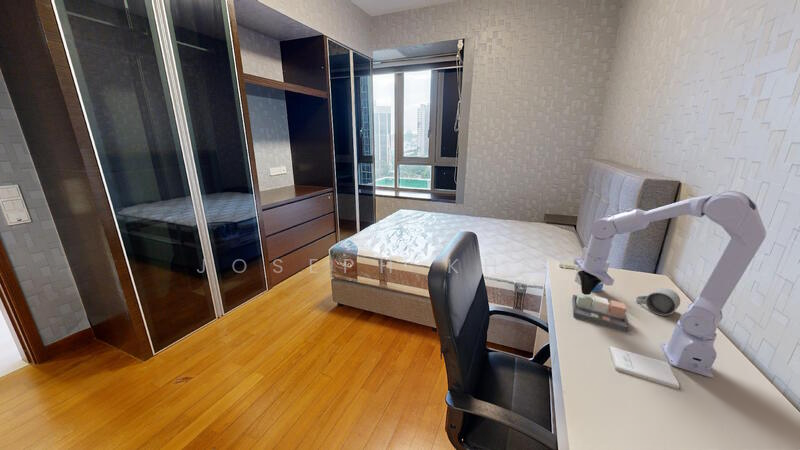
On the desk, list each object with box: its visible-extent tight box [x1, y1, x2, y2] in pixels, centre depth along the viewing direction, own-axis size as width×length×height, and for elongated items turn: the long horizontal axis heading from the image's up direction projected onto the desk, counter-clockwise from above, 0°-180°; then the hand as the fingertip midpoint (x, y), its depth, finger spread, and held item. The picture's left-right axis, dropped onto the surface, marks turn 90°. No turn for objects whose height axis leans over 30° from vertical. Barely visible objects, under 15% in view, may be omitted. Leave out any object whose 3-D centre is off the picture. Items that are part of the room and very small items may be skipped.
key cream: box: [592, 295, 610, 313], centre depth 93 cm, size 4×4×3 cm
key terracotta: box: [608, 299, 627, 318], centre depth 91 cm, size 4×4×3 cm
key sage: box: [576, 291, 592, 309], centre depth 95 cm, size 4×4×3 cm
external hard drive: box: [608, 346, 680, 390], centre depth 73 cm, size 2×8×12 cm
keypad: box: [571, 294, 630, 333], centre depth 94 cm, size 12×14×2 cm
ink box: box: [574, 246, 611, 292], centre depth 109 cm, size 8×5×15 cm, turn 13°
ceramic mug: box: [635, 287, 681, 317], centre depth 98 cm, size 11×8×8 cm
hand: (585, 293), depth 94 cm, fingers closed
